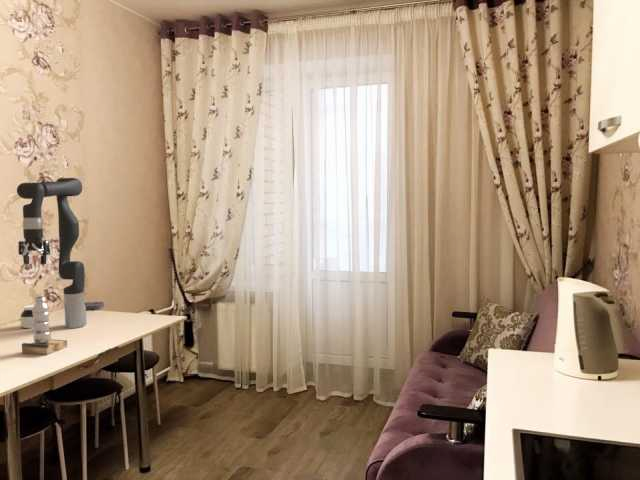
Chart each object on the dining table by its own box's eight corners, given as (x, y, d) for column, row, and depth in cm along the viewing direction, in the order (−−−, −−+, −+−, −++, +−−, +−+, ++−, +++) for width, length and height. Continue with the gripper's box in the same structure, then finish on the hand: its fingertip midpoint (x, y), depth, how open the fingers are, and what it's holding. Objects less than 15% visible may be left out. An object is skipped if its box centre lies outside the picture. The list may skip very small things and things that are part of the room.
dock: (43, 345, 221) (43, 336, 220) (67, 346, 218) (66, 337, 218) (22, 353, 209) (21, 343, 209) (46, 355, 206) (46, 345, 206)
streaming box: (104, 308, 302) (104, 301, 302) (99, 313, 289) (98, 305, 289) (82, 309, 300) (82, 302, 300) (75, 314, 287) (75, 306, 287)
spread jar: (23, 331, 247) (21, 308, 246) (18, 327, 256) (17, 305, 255) (49, 327, 255) (48, 305, 254) (44, 323, 263) (43, 302, 263)
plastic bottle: (54, 341, 216) (52, 296, 215) (41, 345, 210) (39, 298, 208) (43, 340, 218) (40, 295, 217) (30, 344, 212) (27, 298, 210)
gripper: (53, 227, 222) (55, 263, 223) (25, 227, 225) (27, 263, 226) (40, 228, 215) (42, 265, 216) (12, 228, 218) (14, 265, 219)
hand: (35, 264), depth 221 cm, fingers open, 8 cm apart
